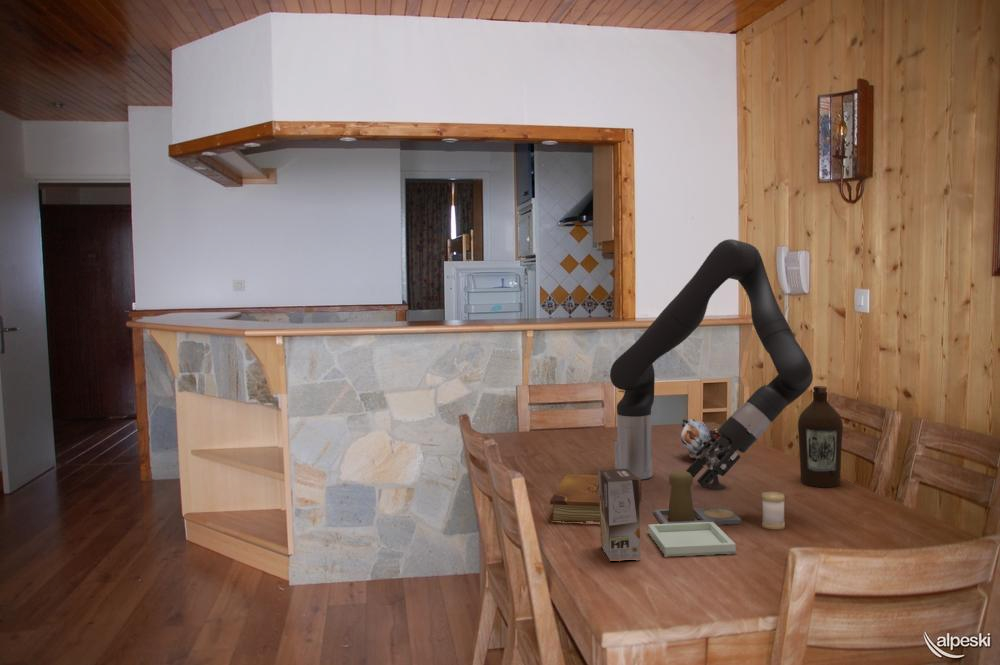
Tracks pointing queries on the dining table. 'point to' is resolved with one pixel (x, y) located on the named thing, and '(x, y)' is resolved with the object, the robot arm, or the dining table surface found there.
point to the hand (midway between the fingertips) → (694, 479)
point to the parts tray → (691, 539)
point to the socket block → (705, 516)
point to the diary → (578, 499)
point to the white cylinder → (773, 510)
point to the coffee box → (619, 514)
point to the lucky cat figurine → (695, 435)
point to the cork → (680, 497)
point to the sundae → (715, 483)
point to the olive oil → (820, 442)
